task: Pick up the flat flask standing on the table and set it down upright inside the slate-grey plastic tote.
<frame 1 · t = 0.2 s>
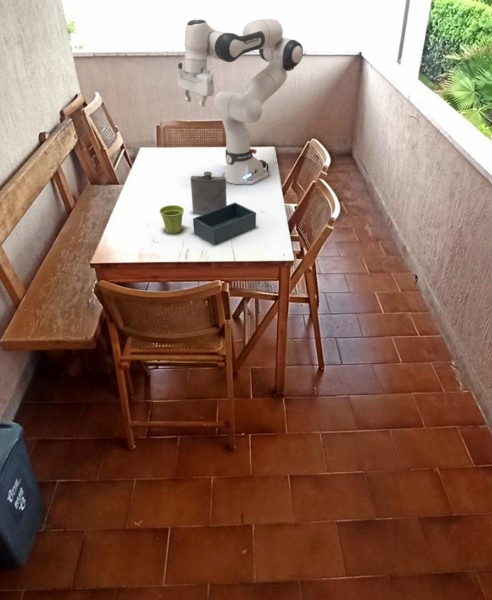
hand: (194, 103, 199), 39 cm above the table, tool pointing down, fingers open, 8 cm apart
flask: (209, 213, 205), on the table
tote: (225, 230, 193), on the table
plant pot: (173, 230, 193), on the table
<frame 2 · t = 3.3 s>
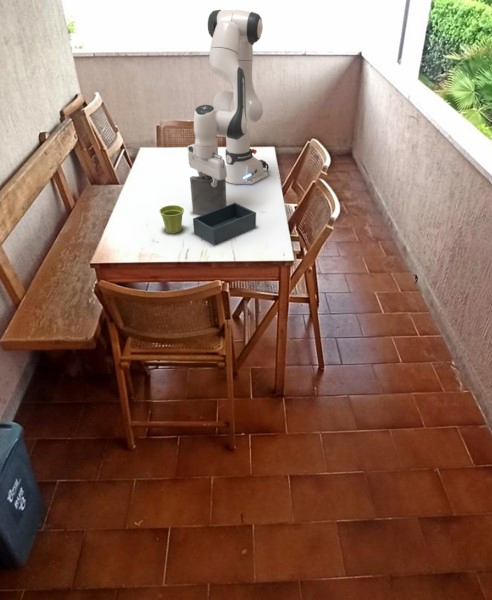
hand: (208, 183, 197), 13 cm above the table, tool pointing down, fingers closed on flask, 6 cm apart
flask: (209, 213, 205), on the table, touching gripper
everything else where it was.
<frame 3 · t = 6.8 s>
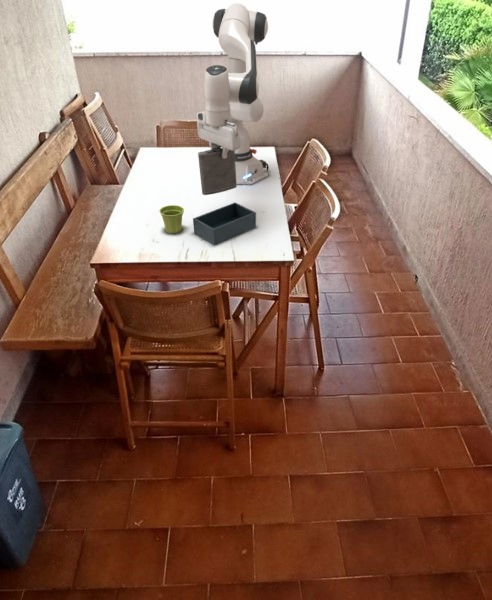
hand: (219, 156, 179), 29 cm above the table, tool pointing down, fingers closed on flask, 4 cm apart
flask: (220, 190, 187), point 15 cm above the table, touching gripper
everything else where it was.
when the fingers open (14 cm above the table, at t = 10.6 s): flask stays where it is, resting on tote.
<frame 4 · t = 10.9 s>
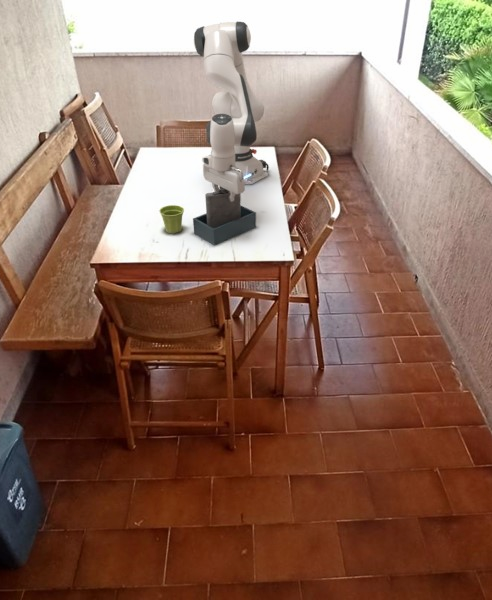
hand: (224, 197, 185), 14 cm above the table, tool pointing down, fingers open, 7 cm apart
flask: (224, 229, 193), resting on tote
everything else where it was.
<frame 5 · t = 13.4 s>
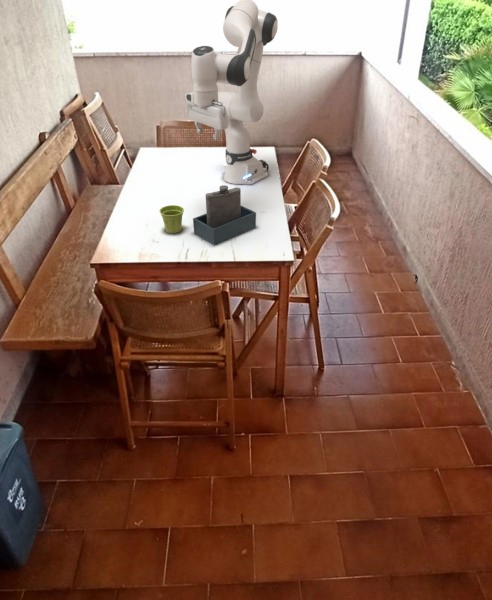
hand: (208, 136, 183), 34 cm above the table, tool pointing down, fingers open, 8 cm apart
nothing on the table moved.
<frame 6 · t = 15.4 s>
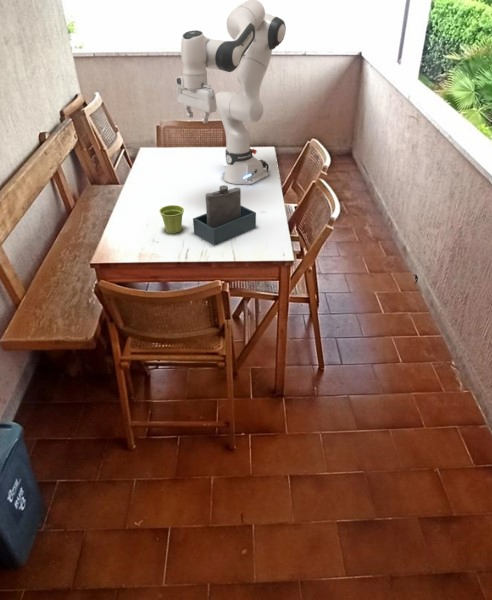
hand: (197, 119, 187), 37 cm above the table, tool pointing down, fingers open, 8 cm apart
nothing on the table moved.
at the end: flask inside the target area in the tote (0.2 cm from its centre), point 0.4 cm above the tote's base; the gripper is holding nothing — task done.
